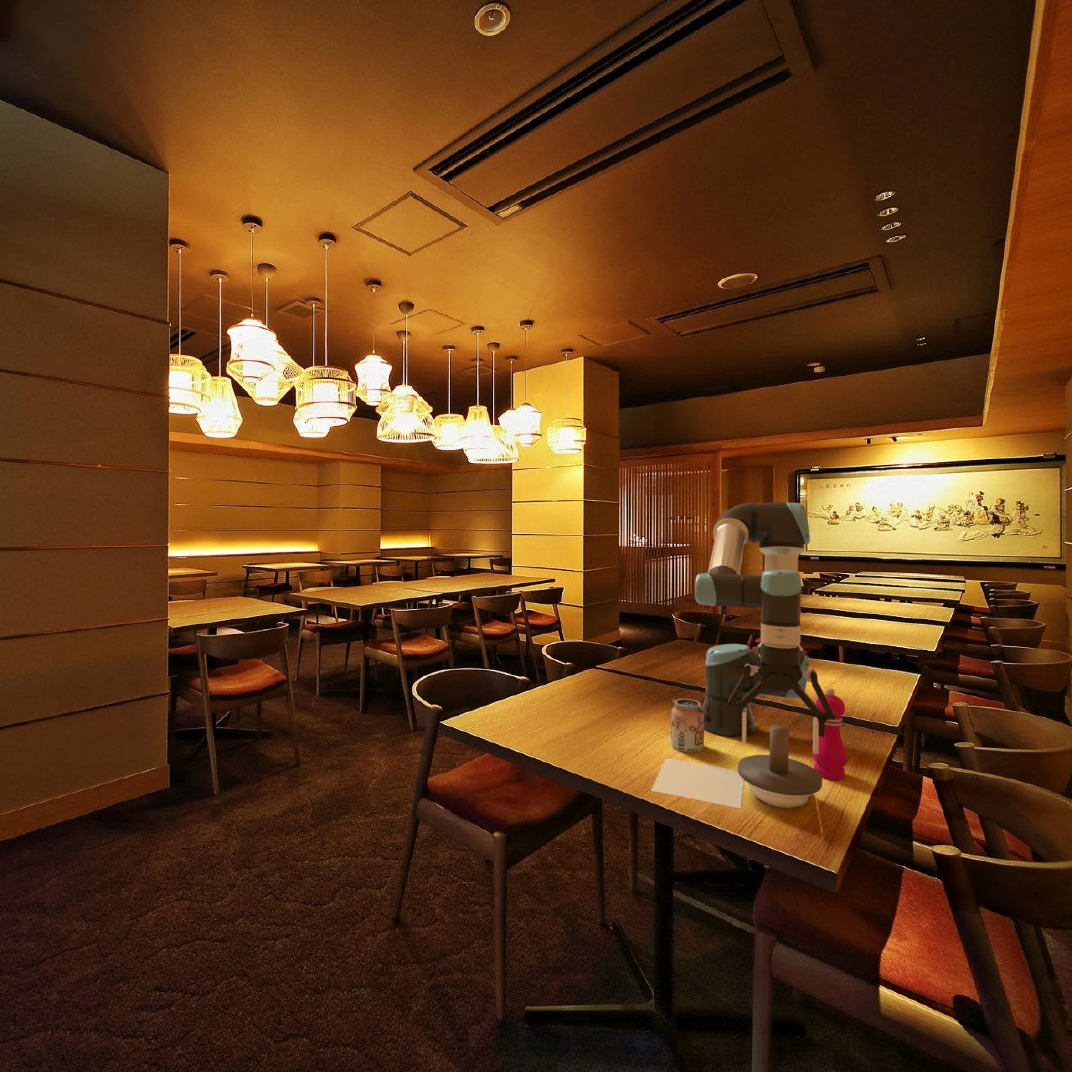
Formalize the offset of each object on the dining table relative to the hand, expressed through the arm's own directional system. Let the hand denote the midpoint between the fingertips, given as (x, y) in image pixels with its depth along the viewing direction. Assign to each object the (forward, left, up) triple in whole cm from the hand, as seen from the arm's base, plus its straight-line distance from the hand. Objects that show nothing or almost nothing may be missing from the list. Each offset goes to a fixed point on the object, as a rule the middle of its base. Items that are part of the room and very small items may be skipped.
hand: (779, 746), depth 112 cm
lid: (0, 0, -6) cm, 6 cm away
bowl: (0, 0, -11) cm, 11 cm away
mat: (-1, -16, -11) cm, 20 cm away
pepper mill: (-18, +11, -12) cm, 24 cm away
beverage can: (-20, -21, -12) cm, 31 cm away
